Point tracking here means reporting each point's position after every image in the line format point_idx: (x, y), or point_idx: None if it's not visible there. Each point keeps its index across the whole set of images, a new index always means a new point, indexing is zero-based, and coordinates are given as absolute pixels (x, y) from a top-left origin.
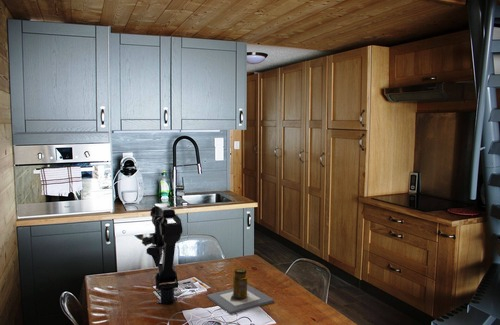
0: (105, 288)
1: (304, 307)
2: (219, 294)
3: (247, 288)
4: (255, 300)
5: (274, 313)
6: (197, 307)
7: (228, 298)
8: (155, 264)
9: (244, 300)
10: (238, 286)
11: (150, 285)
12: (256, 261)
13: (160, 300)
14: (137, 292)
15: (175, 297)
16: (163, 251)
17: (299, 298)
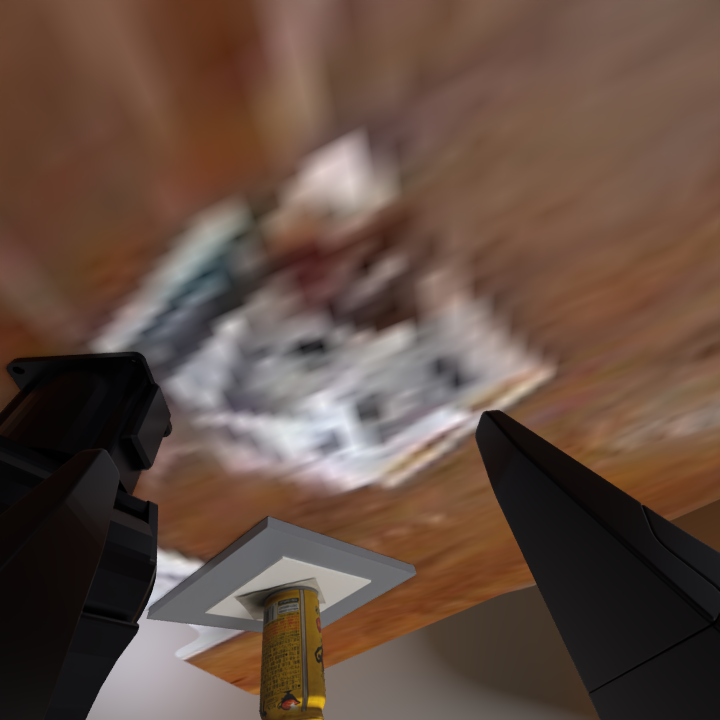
0: None
1: None
2: (292, 552)
3: (379, 582)
4: None
5: (227, 649)
6: None
7: (259, 584)
8: (26, 502)
9: (260, 614)
10: (261, 669)
11: (352, 97)
12: (679, 507)
13: (50, 370)
14: (92, 6)
15: (167, 426)
16: (643, 571)
17: (347, 643)
